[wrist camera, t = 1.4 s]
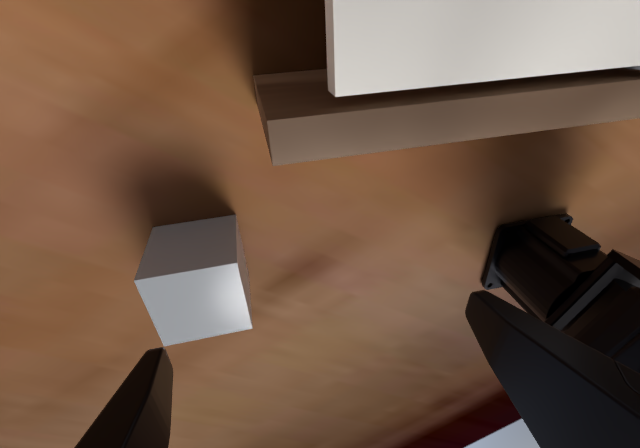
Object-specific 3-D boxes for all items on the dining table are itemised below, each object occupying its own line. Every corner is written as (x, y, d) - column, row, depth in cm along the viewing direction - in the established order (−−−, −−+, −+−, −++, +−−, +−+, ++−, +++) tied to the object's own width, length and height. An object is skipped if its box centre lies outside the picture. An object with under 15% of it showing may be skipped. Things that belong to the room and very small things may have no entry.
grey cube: (248, 274, 25) (252, 328, 20) (175, 286, 24) (164, 346, 20) (236, 214, 22) (236, 262, 18) (153, 226, 21) (133, 280, 17)
